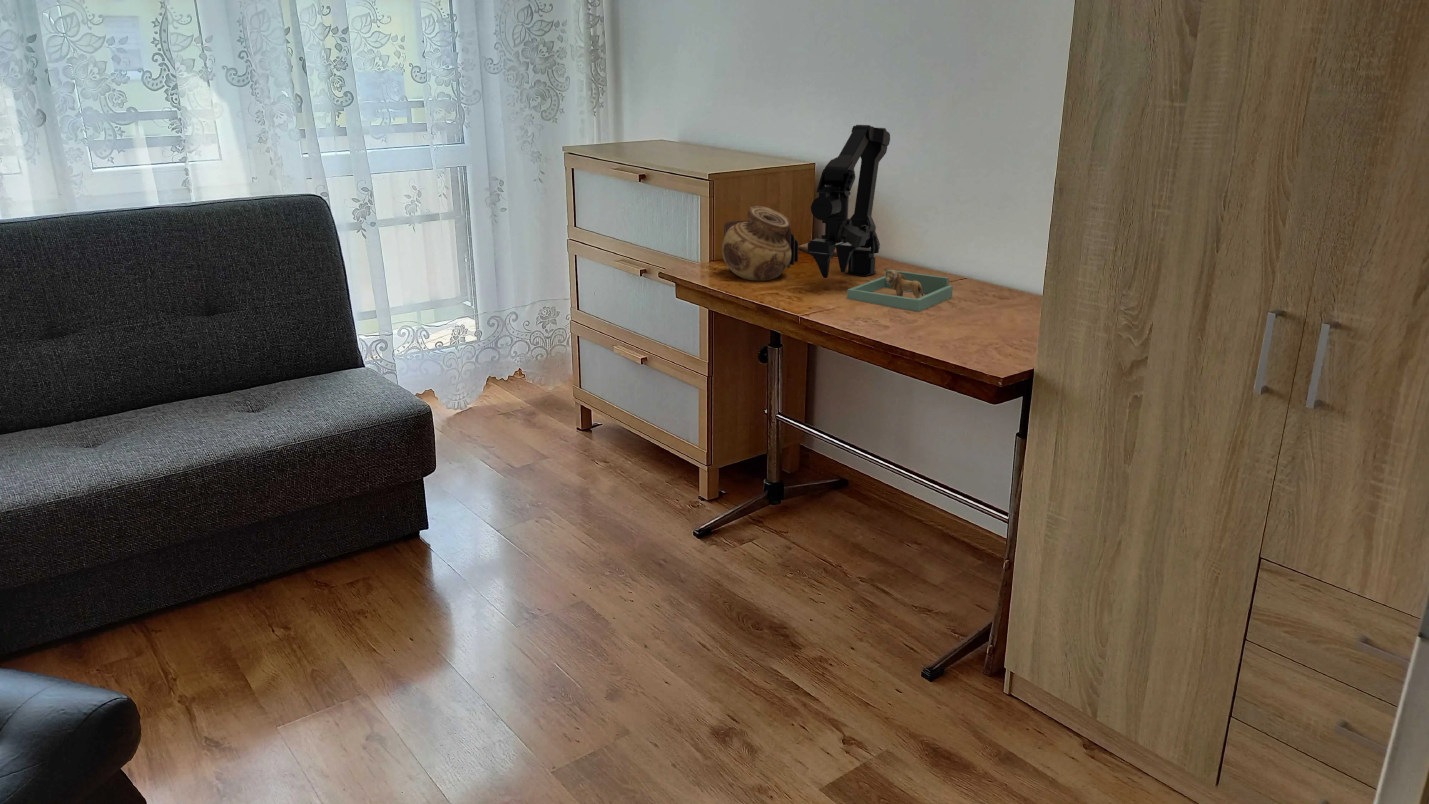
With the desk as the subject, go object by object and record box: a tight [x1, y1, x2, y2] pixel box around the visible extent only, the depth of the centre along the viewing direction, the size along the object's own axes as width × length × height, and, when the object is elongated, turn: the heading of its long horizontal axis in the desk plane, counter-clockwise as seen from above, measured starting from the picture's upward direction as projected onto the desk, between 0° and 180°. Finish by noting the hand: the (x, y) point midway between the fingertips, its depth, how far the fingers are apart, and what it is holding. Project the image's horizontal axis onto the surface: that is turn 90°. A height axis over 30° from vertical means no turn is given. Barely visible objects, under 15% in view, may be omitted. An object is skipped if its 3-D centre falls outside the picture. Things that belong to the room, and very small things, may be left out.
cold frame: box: [846, 269, 954, 313], centre depth 253 cm, size 19×19×5 cm
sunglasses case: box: [798, 237, 838, 259], centre depth 307 cm, size 18×7×7 cm
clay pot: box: [721, 205, 792, 281], centre depth 272 cm, size 19×19×20 cm
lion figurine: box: [885, 269, 924, 299], centre depth 252 cm, size 12×4×7 cm, turn 52°
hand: (834, 275), depth 263 cm, fingers open, 9 cm apart
